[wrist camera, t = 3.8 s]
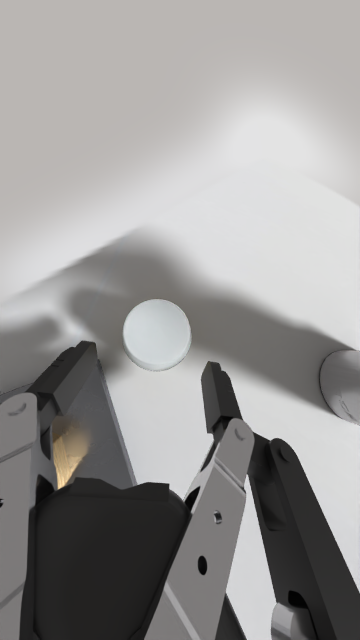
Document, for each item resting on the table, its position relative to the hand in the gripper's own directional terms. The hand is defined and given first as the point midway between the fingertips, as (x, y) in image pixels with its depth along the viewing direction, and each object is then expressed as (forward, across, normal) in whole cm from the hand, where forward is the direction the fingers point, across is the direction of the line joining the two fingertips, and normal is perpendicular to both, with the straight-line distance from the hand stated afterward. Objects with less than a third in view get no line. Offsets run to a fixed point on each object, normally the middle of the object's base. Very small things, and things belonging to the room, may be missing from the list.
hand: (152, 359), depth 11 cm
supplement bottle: (+6, 0, +4) cm, 8 cm away
